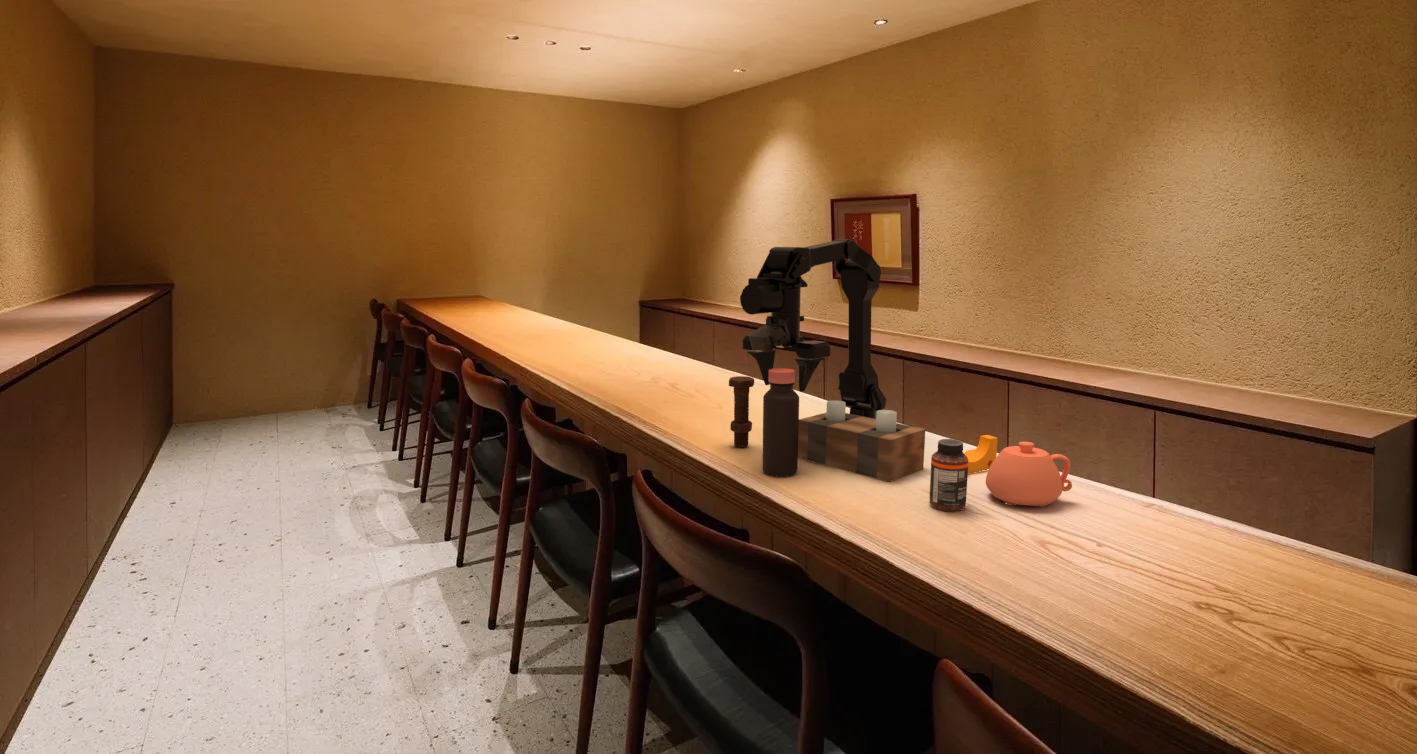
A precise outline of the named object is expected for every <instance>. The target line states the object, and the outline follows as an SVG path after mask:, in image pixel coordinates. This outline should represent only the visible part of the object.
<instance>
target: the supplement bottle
mask: <svg viewBox="0 0 1417 754" xmlns="http://www.w3.org/2000/svg"><path fill="white" fill-rule="evenodd" d="M963 450H964V442H963V441H962V440H959V439H953V438H942V439H939V440H938V442H937V451H934V452H933V454H932V455H931V459H930V460H931V461H930V481H929V483H930V484H929V497H928V498H929V504H930V505H929V506H931V507H933V508H934V509H937V510H940V511H944V512H956V511H961V510H963V509H965V508H966V506H967V505H966V504H967V492H968V491H967V489H968V476H969V474H968V458H967V456H966V455H965V454H964V453H965V452H964V451H963Z"/></svg>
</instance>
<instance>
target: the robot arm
mask: <svg viewBox="0 0 1417 754" xmlns="http://www.w3.org/2000/svg"><path fill="white" fill-rule="evenodd" d="M831 262H833V269H834V271H836V273H837V274H838V275H839V277H840V286H841V290H842V291H843V293H844V295H845V297H846V298H847V300H848V323H847V325H848V335H847V336H848V338H847V339H848V341H847V342H848V346H847V347H848V349H847V350H848V351H847V353H848V354H847V355H848V356H847V357H848V361H847V365H846V367H845V369H844V370H843V371H840V372H839V374H838V380H839V381H838V382H839V385H838V390H839V394H840V397H841V401H844V402H846V407H849V414H853V415H858V416H863V417H868V418H873V419H876V416H877V411H878V410H885V408H886V405H887V398H886V396H885V395H884V394H883V391H882V390H881V388H880V387H879V386H880V385H879V377H878V374H877V372H876V371H875V368H874V367H873V366H872V355H871V354H872V353H871V352H872V300H873V298H874V297H875V295H876V293H877V292H878V290H879V289H880V281H881V274H882V271H881V270H882V269H881V266H880V265H879V264H878V262H877V261H876V260H875V258H874V257H873V256H872V255H871V254H870V253H868V252H867V251H865V250H864V249H862V248H861V247H860V246H859V245H858V244H857V242H856V241H855V240H852V239H848V238H847V239H843V238H842V239H839V238H838V239H837V238H836V239H834V240H831V241H828V242H822V243H818V244H814V245H813V244H812V245H809V246H808V245H807V246H803V247H802V246H774V247H772V248H770V249H769V252H768V254H767V256H766V258H765V260H764V262H763V264H762V266H761V268H760V270H759V272H758V274H757V276H756V277H753V278H748V279H747V280H748V282H747V283H748V284H747V285H746V286H745V287H744V288H743V289H742V291H741V294H740V297H739V300H740V301H739V302H740V306H741V308H742V310H743V311H744V312H745V313H746V314H748V315H752V316H753V315H760V314H768V313H770V315H767V316H766V319H765V325H763V326H760V327H758V328H757V329H755V330H754V331H753V332H751V333H750V334H747V335H745V336H744V338H743V340H742V350H747V351H746V353H747V354H748V355H751V357H753V358H754V359H755V362H757V365H758V368H759V371H760V373H761V376H762V380H763V382H764V385H765V386H770V384H769V370H770V369H774V362H775V358H776V350H780V351H786V352H793V353H794V352H795V354H796V355H797V357H798V358H795V359H794V360H795V362H796V363H797V365H798V388H799V389H798V391H799V392H802V393H803V392H805V390H806V388H807V386H808V384H810V383H809V382H810V380H811V378H812V376H813V374H814V373H815V371H816V369H817V367H818V366H819V364H820V363H821V361H824V360H825V358H828V357H831V346H830V344H829V342H828V341H822V340H807V341H805V340H804V339H805V337H804V336H803V335H802V336H801V334H800V333H801V331H800V330H801V322H804V321H805V315H801V293H802V291H801V288H808V282H807V281H805V280H804V279H803V278H802V276H804V275H806V274H807V273H809V272H810V271H811V269H812V268H813V267H816V266H820V265H824V264H829V263H831Z"/></svg>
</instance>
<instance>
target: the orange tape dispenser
mask: <svg viewBox="0 0 1417 754" xmlns="http://www.w3.org/2000/svg"><path fill="white" fill-rule="evenodd" d="M998 439H999V438H998V437H996V436H993V435H989V434H985V435H980V436H979V442H978V445H977V447H976V448H974V449H968V450H965V452H963V453H964V454H965V455H966V456H967V458H968V473H972V474H975V473H974V472H977V473H980V472H979V471H982V470H987V469H989V468H990V466H991V464H992V463H993V461H994V460H995V458H996V457H997V456H998ZM982 472H983V471H982Z"/></svg>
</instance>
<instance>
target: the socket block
mask: <svg viewBox="0 0 1417 754" xmlns="http://www.w3.org/2000/svg"><path fill="white" fill-rule="evenodd" d="M925 445H926V428H923V427H917V426H912V425H907V424H903V423H897V422H896V432H894V433H891V434H887V433H883V432H878V431H876V419H873V418H868V417H863V416H858V415H853V414H850V413H848V412H847V413H846V412H845V421H843V422H840V423H836V422H831V421H826V412H823V413H819V414H815V415H811V416H808V417H802V418H799V434H798V459H801V460H804V461H807V462H808V461H809V462H813V463H817V464H820V465H823V466H828V467H830V468H831V467H832V468H833V469H834V468H835V469H838V470H842V471H845V472H849V471H850V472H849V473H853V474H858V475H861V476H865V477H869V478H873V479H876V480H880V481H884V482H888V483H890V482H892V481H895V480H898V479H900V478H903V477H905V476H909V475H910V474H913V473H916V472H918V471H921V470H923V469H924V464H925V463H924V461H925V460H924V459H925Z"/></svg>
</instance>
